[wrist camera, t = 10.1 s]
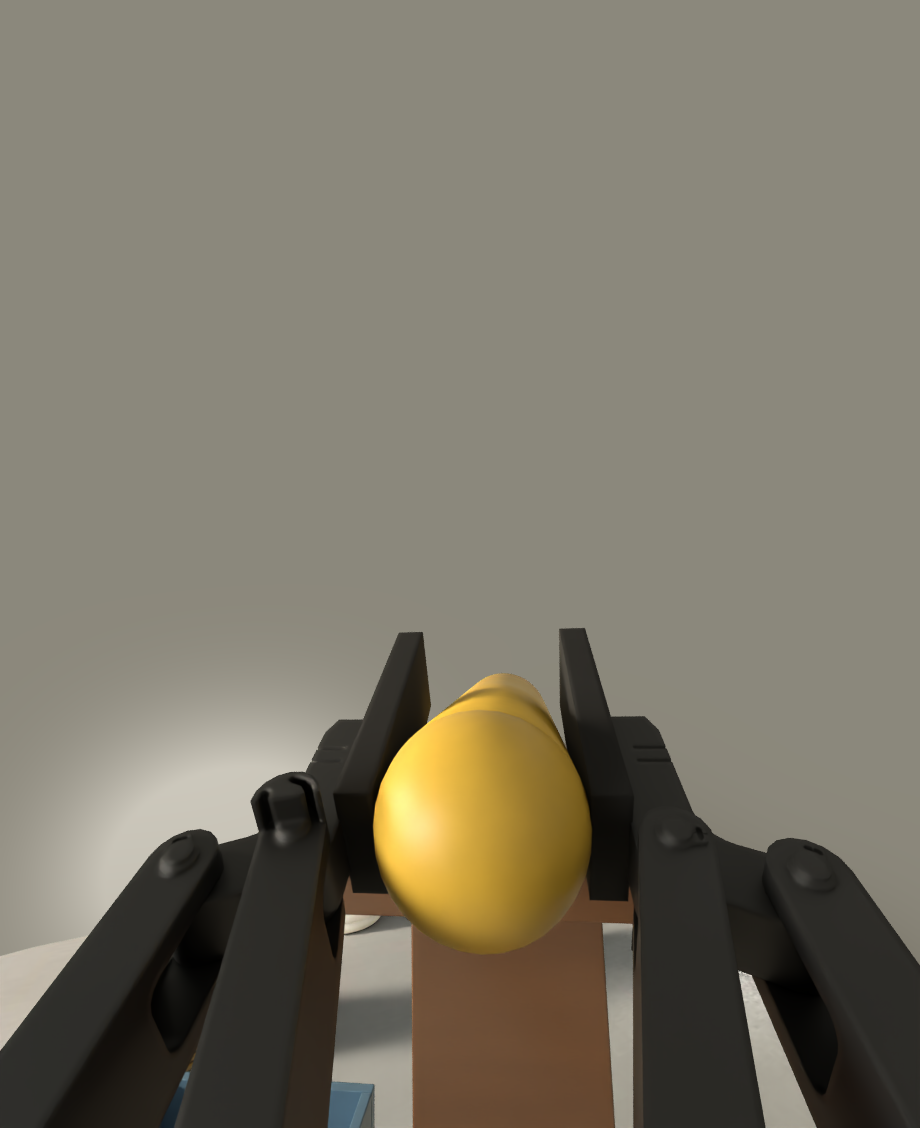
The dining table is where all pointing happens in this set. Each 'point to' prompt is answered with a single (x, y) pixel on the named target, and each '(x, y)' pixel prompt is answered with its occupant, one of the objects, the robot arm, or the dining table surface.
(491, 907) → the yellow capsule
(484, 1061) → the display stand
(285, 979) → the robot arm
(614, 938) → the dining table surface
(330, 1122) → the open box
